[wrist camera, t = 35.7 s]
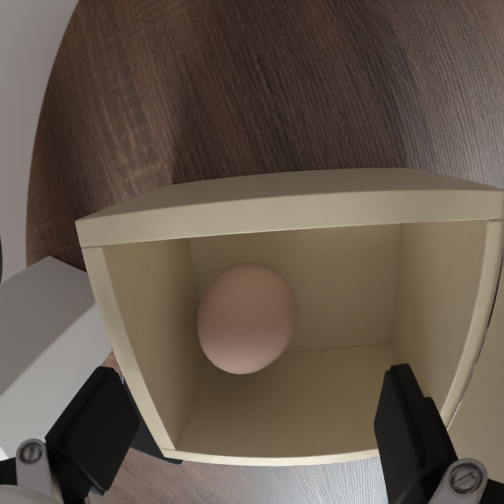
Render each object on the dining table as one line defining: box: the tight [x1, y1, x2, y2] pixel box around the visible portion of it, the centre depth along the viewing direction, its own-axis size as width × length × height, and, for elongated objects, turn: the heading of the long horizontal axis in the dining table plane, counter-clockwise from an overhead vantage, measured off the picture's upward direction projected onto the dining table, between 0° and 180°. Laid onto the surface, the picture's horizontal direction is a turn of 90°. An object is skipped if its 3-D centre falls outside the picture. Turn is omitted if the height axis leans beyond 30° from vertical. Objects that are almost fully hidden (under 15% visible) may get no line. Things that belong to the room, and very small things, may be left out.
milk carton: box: [0, 256, 112, 461], centre depth 14 cm, size 7×7×19 cm
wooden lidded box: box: [75, 168, 504, 466], centre depth 15 cm, size 15×13×10 cm
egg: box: [197, 264, 298, 374], centre depth 16 cm, size 5×5×7 cm
